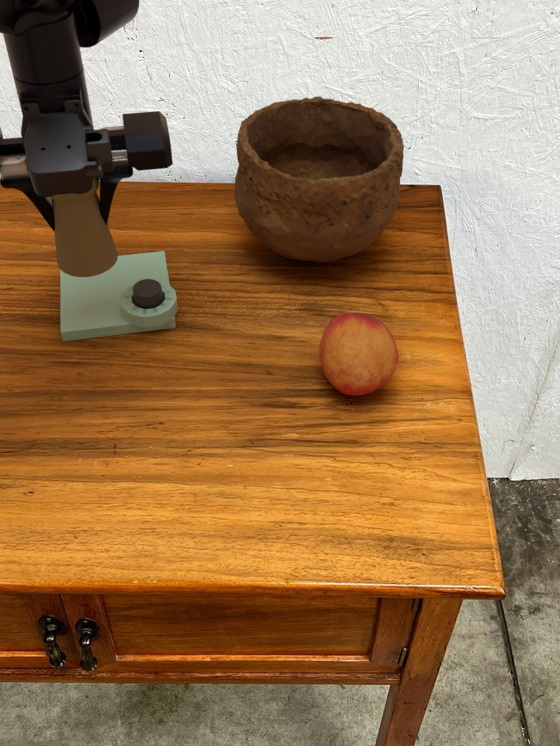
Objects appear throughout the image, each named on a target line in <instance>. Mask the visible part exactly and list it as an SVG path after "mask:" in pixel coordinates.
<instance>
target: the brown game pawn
mask: <svg viewBox="0 0 560 746" xmlns="http://www.w3.org/2000/svg"><path fill="white" fill-rule="evenodd" d="M98 189H99V178H93V187H92V189H91V190H90V191H89V192H87V193H84V194H75V193H71V194H60V195H54V196H52V197H51V199H52V209H53V215H54V219H55V231H53V233H54V241H55V243H54V244H55V253H56V254H55V255H56V263H57V266H58V269H59V271H60V270H62V271H63V272H64V273H66V274H68V275H70V276H75V277H92V276H96V275H100V274H102V273H104V272H106V271H108V270H109V269H110V268H112V267H113V266H114V265H115V263H116V261H117V260H118V256H119V253H118V249H117V246H116V244H115V241H114V239H113V235H112V233H111V229H110V226H109V224H108V223H107V226H106V224H105V222H104V220H103V218H102V216H101V214H100V197H99V195H98V193H97V191H98Z"/></svg>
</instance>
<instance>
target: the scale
mask: <svg viewBox="0 0 560 746" xmlns="http://www.w3.org/2000/svg"><path fill="white" fill-rule="evenodd" d="M59 272H60V273H59V276H60V277H59V279H60V280H59V282H60V283H59V284H60V285H59V287H60V289H59V293H60V294H59V295H60V300H59V302H60V306H59V308H60V310H59V311H60V315H59V318H60V319H59V320H60V323H59V324H60V329H59V330H60V335H61V339H62V342H70V341H79V340H85V339H95V338H103V337H110V336H111V337H112V336H119V335H128V334H135V333H137V334H138V333H143V332H151V331H160V330H161V331H163V330H169V329H170V330H171V329H176V328H177V325H176V323H177V322H176V315H177V313H178V311H179V305H178V298H177V292H176V289H175V288H173V286H172V285H171V283H170V277H169V271H168V264H167V258H166V251H165V250H161V251H160V250H159V251H150V252H141V253H132V254H122V255H118V260H117V261H116V263H115V265H114V266H113V267H112V268H110V269H109V270H108V271H106V272H104V273H102V274H100V275H96V276H92V277H75V276H70V275H68V274H66V273H64V272H63V271H62V270H60V269H59ZM143 279H153V280H156V281H158V282H159V283H160V284H161V288H162V296H163V301H162V303H161V304H160V305H159V306H157V307H156V308H152V309H142V308H139V307H138V306H137V305H136V304H135V301H134V295H133V286H134V285H135V283H137V282H138V281H140V280H143Z"/></svg>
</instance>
